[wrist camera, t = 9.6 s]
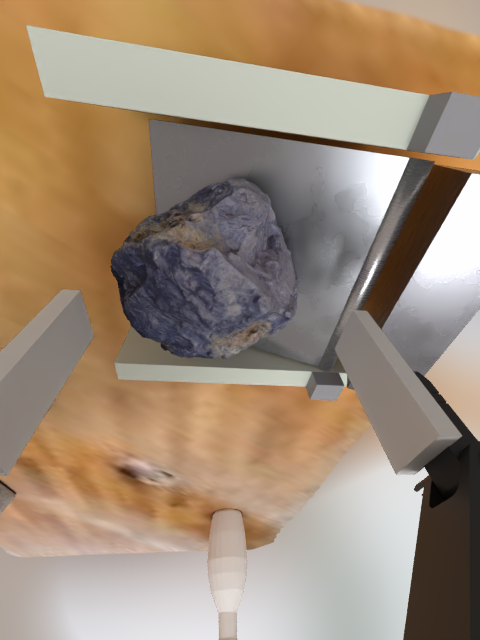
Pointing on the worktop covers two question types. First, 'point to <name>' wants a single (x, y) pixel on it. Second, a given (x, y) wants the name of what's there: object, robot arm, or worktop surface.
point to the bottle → (227, 568)
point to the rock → (208, 273)
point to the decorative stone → (5, 497)
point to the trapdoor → (347, 234)
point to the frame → (252, 112)
